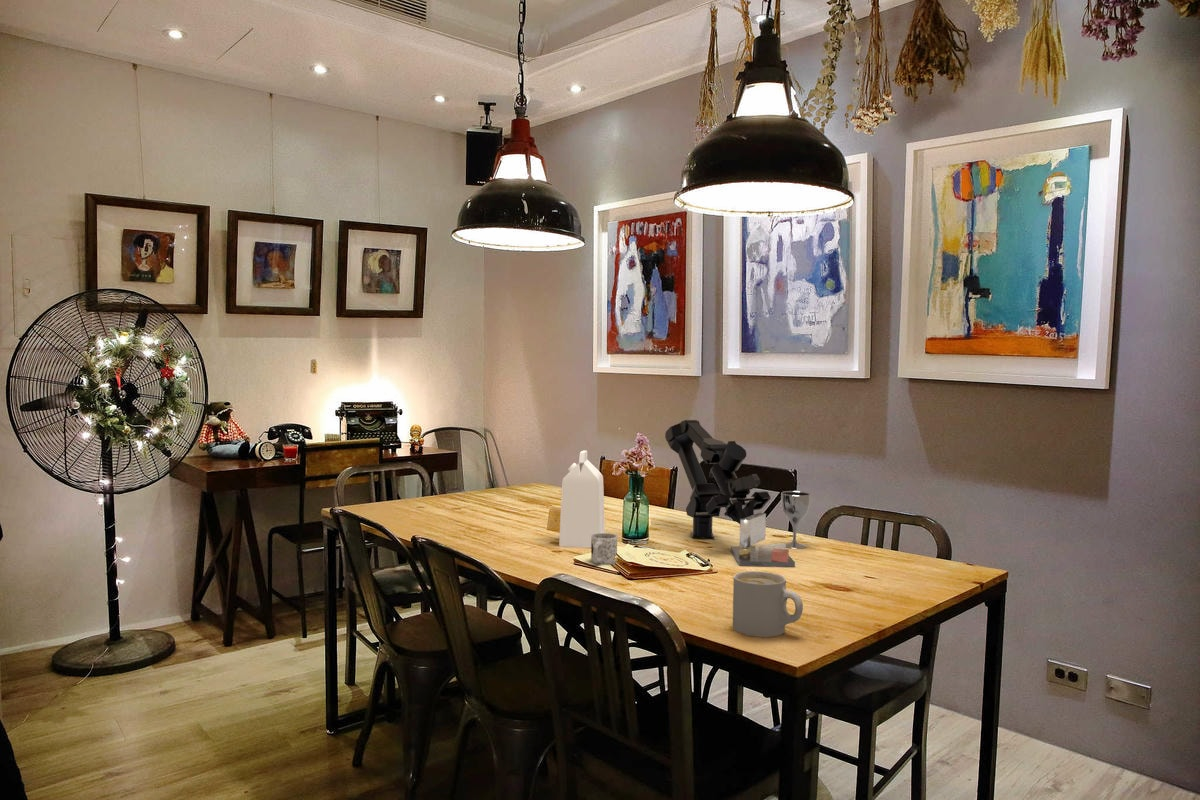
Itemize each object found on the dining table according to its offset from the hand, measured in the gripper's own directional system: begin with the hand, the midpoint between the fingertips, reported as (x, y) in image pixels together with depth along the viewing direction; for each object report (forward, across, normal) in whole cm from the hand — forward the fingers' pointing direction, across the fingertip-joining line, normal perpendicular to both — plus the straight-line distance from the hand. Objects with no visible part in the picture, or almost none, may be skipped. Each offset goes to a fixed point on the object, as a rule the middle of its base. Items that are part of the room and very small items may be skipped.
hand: (751, 528), depth 220 cm
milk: (-17, -34, +29) cm, 48 cm away
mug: (-2, -40, +12) cm, 42 cm away
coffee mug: (+40, -38, -32) cm, 64 cm away
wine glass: (+3, +18, +8) cm, 20 cm away
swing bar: (+4, -2, 0) cm, 5 cm away
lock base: (+8, 0, +2) cm, 8 cm away
